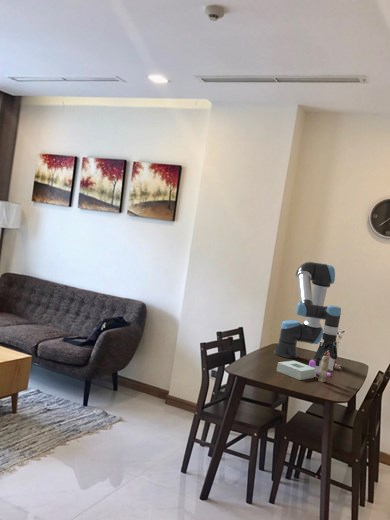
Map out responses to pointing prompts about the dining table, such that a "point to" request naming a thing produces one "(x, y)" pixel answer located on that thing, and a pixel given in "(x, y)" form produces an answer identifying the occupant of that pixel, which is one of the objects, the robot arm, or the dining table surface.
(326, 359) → the peg
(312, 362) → the bracket
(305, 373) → the socket block
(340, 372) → the dining table surface
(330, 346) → the robot arm
